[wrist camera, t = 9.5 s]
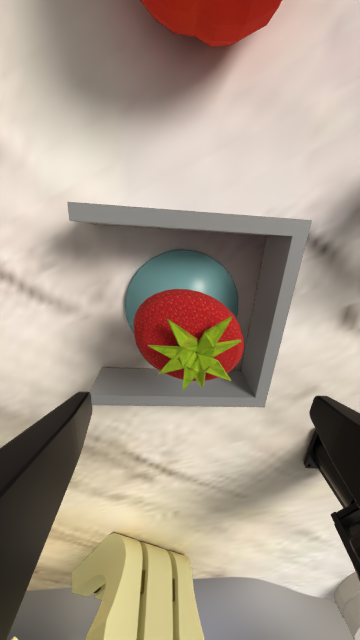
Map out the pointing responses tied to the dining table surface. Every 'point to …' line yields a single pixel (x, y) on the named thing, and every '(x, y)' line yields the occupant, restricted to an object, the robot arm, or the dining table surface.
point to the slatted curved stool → (138, 592)
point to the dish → (350, 603)
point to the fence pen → (216, 282)
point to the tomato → (213, 18)
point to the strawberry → (188, 335)
